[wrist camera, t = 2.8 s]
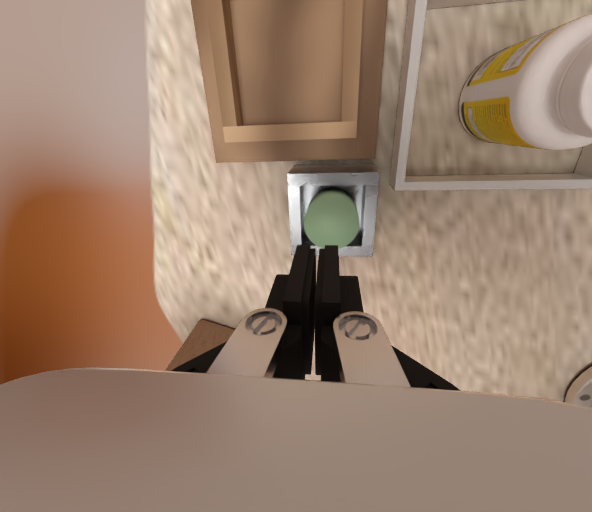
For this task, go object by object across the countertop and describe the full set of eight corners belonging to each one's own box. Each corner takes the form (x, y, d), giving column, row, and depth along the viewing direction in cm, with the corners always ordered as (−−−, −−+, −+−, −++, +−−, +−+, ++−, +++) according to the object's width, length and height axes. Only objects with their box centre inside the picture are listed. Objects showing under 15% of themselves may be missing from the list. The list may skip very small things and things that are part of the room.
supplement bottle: (524, 145, 20) (674, 167, 11) (445, 136, 20) (528, 150, 11) (565, 52, 17) (801, -17, 8) (474, 43, 18) (610, -31, 9)
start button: (358, 188, 19) (361, 196, 17) (355, 236, 21) (357, 250, 19) (306, 188, 20) (302, 197, 18) (307, 236, 21) (304, 249, 19)
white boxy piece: (372, 163, 21) (379, 172, 18) (367, 236, 24) (372, 256, 20) (294, 165, 22) (287, 173, 19) (297, 235, 25) (291, 255, 21)
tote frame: (662, -27, 15) (709, -49, 13) (579, 181, 20) (605, 188, 18) (408, -2, 17) (418, -18, 15) (389, 184, 22) (394, 190, 20)
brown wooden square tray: (390, -66, 16) (399, -99, 14) (373, 156, 21) (377, 161, 19) (192, -40, 18) (169, -65, 15) (222, 160, 23) (208, 165, 20)
